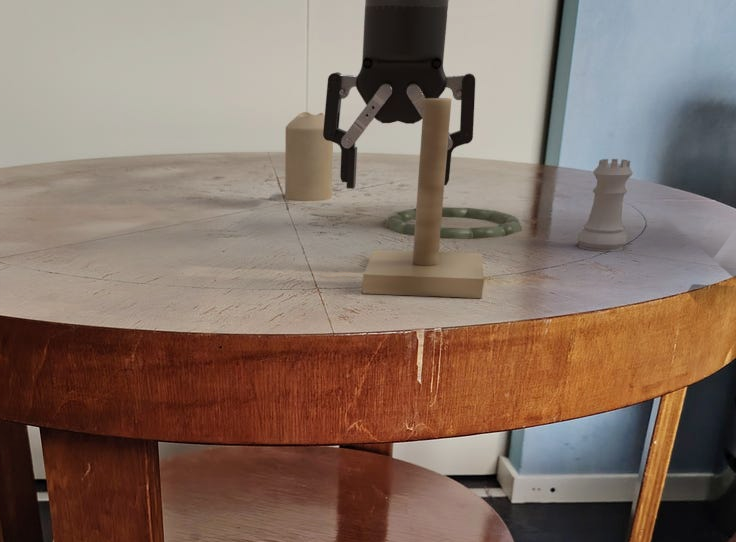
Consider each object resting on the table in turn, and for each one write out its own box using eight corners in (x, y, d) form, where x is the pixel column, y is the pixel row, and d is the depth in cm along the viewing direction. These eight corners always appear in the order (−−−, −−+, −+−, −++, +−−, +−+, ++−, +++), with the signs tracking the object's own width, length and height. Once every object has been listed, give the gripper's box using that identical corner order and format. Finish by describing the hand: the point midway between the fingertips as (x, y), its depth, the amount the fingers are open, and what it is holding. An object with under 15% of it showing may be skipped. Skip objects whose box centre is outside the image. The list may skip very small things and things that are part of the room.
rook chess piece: (619, 262, 78) (636, 164, 74) (567, 257, 80) (581, 161, 76) (630, 253, 81) (647, 159, 78) (580, 248, 83) (594, 156, 80)
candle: (277, 202, 109) (278, 112, 104) (319, 199, 111) (321, 110, 106) (296, 209, 104) (297, 115, 100) (339, 205, 106) (342, 113, 101)
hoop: (516, 223, 95) (517, 207, 94) (523, 249, 83) (525, 231, 83) (390, 220, 97) (391, 204, 97) (380, 244, 86) (381, 227, 85)
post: (479, 271, 76) (498, 95, 69) (481, 298, 68) (502, 102, 62) (372, 267, 77) (381, 95, 71) (362, 293, 69) (371, 102, 63)
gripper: (323, 1, 80) (317, 192, 87) (487, 0, 77) (467, 197, 85) (333, 4, 86) (327, 182, 94) (485, 3, 84) (466, 186, 91)
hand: (393, 189), depth 89 cm, fingers open, 8 cm apart
